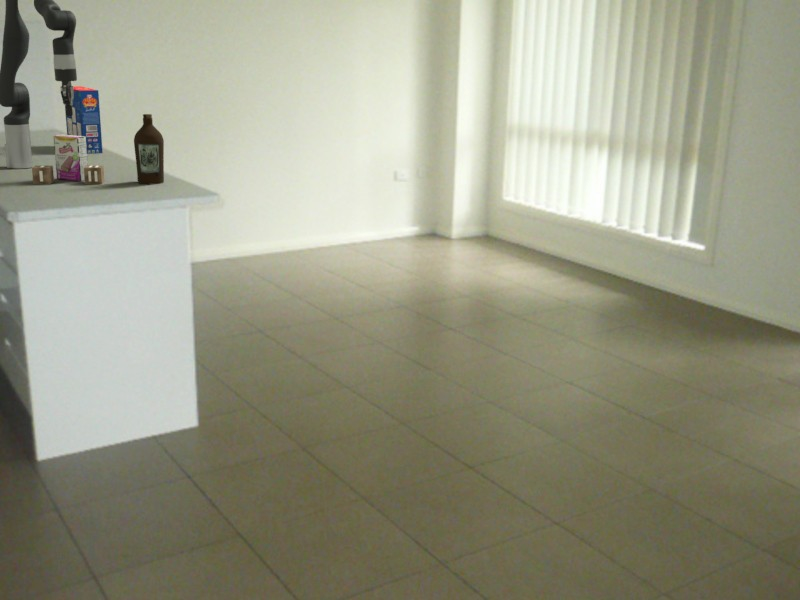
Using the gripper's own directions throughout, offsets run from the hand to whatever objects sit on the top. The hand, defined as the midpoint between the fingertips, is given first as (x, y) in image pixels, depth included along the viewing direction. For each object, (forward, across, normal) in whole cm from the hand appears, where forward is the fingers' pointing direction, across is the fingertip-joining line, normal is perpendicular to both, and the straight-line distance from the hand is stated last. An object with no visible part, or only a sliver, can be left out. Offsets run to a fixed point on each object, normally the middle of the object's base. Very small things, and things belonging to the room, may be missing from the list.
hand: (69, 115), depth 338 cm
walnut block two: (+24, +9, +8) cm, 27 cm away
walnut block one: (+24, +9, -10) cm, 27 cm away
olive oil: (+24, +8, +28) cm, 38 cm away
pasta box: (+22, -86, -10) cm, 90 cm away
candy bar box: (+24, +2, -1) cm, 24 cm away
